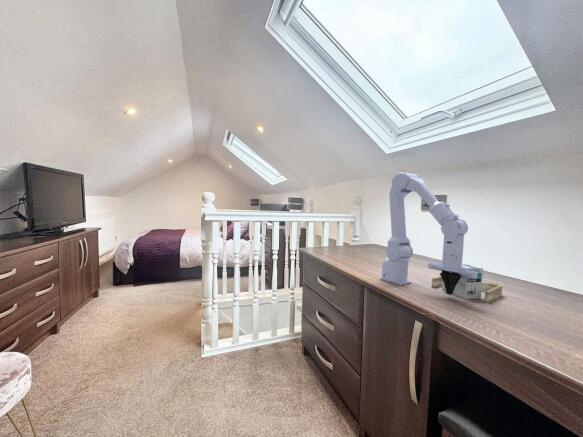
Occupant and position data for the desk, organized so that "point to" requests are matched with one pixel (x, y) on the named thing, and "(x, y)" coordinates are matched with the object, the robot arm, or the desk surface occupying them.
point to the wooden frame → (490, 289)
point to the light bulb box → (469, 284)
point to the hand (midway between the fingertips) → (449, 293)
